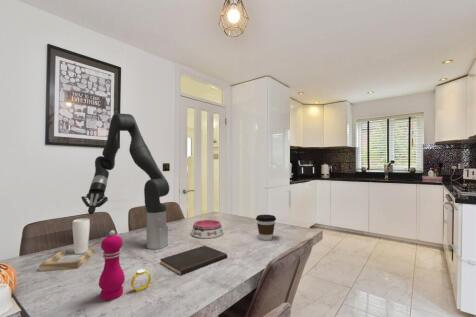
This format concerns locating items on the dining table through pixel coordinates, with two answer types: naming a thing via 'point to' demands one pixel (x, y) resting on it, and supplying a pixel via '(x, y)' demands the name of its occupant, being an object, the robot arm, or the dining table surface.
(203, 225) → the dog bowl
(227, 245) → the dining table surface
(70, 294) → the dining table surface
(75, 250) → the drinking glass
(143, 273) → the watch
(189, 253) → the hardcover book
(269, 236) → the coffee cup
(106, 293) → the pepper mill
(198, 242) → the dining table surface
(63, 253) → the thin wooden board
